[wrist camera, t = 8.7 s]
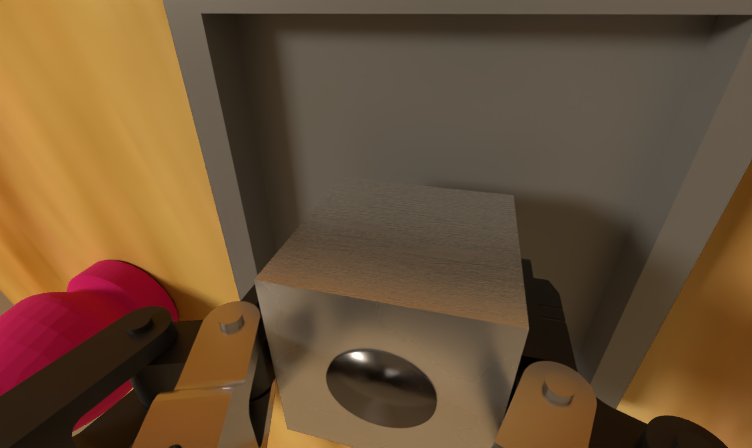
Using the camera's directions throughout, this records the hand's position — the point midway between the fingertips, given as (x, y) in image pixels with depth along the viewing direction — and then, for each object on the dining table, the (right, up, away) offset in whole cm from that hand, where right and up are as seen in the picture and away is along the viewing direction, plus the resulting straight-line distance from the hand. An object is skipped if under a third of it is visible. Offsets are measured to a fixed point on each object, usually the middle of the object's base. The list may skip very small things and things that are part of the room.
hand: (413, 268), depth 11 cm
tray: (+1, +2, +3) cm, 4 cm away
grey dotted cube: (0, 0, +1) cm, 1 cm away
